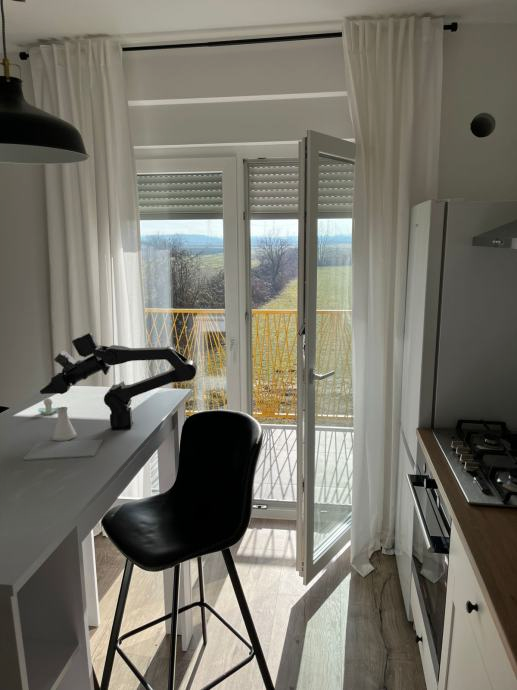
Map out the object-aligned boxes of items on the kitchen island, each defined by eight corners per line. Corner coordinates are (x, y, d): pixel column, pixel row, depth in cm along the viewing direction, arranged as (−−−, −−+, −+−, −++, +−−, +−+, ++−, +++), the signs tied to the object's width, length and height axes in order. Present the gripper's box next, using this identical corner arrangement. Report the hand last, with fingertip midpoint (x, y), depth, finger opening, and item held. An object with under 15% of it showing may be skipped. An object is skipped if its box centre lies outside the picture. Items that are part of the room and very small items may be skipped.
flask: (48, 440, 169) (45, 410, 168) (62, 433, 176) (59, 404, 174) (67, 442, 167) (64, 412, 166) (81, 435, 174) (78, 405, 172)
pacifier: (42, 411, 201) (37, 416, 195) (40, 395, 200) (35, 399, 194) (62, 410, 202) (57, 415, 196) (60, 394, 201) (56, 398, 195)
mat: (103, 440, 168) (102, 439, 168) (93, 456, 156) (93, 455, 156) (38, 443, 167) (37, 442, 167) (23, 460, 154) (23, 458, 154)
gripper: (81, 341, 184) (41, 361, 184) (66, 352, 166) (21, 374, 166) (97, 369, 186) (57, 388, 187) (84, 383, 168) (40, 405, 168)
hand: (44, 388), depth 177 cm, fingers open, 9 cm apart
